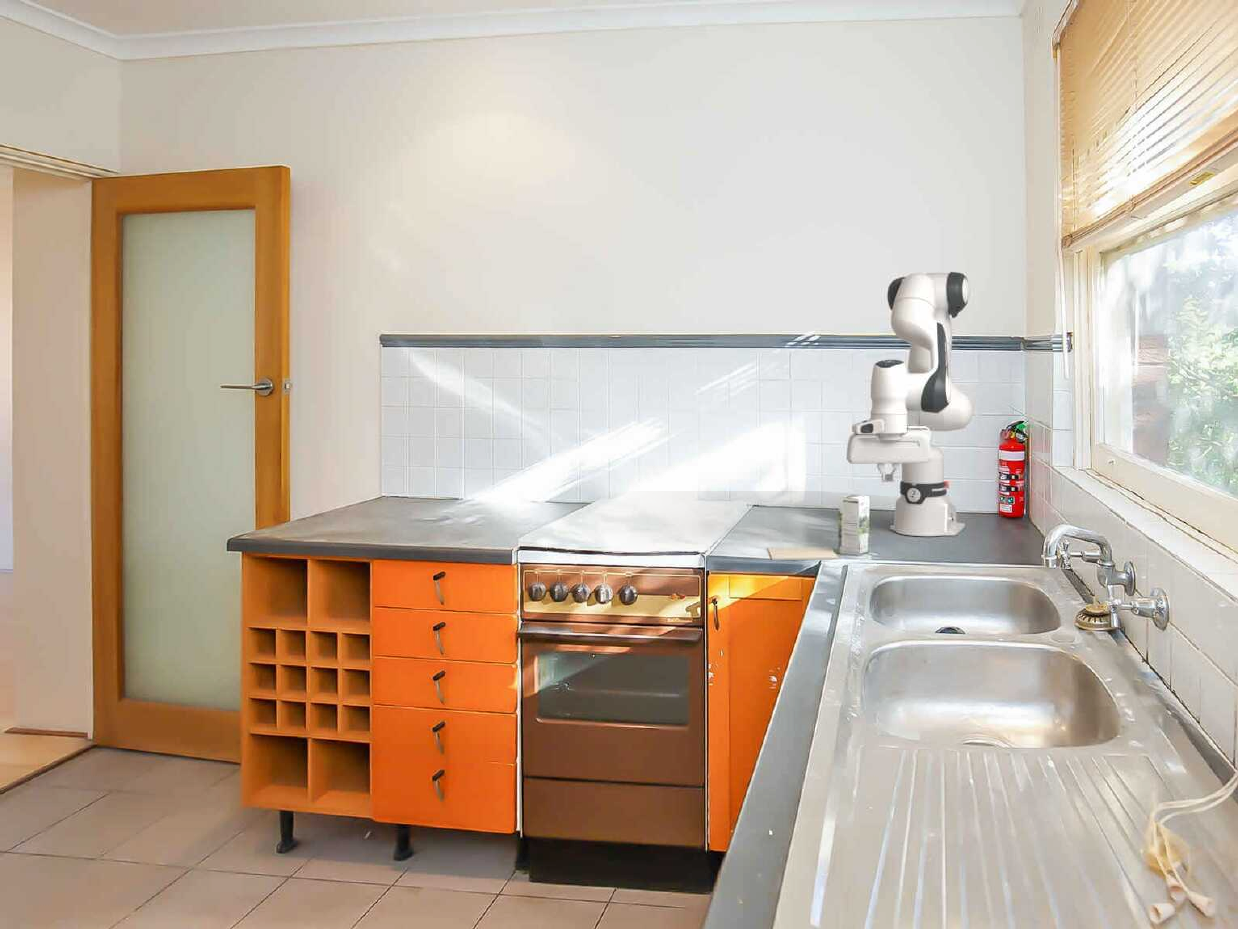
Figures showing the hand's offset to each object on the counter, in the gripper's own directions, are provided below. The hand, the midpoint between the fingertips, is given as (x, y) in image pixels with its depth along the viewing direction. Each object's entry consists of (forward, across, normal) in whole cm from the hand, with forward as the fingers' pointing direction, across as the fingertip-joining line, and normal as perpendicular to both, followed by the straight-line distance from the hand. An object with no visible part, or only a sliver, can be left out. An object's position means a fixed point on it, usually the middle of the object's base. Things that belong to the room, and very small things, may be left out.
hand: (888, 481), depth 263 cm
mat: (+18, +21, -1) cm, 28 cm away
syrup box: (+18, +8, -1) cm, 20 cm away
